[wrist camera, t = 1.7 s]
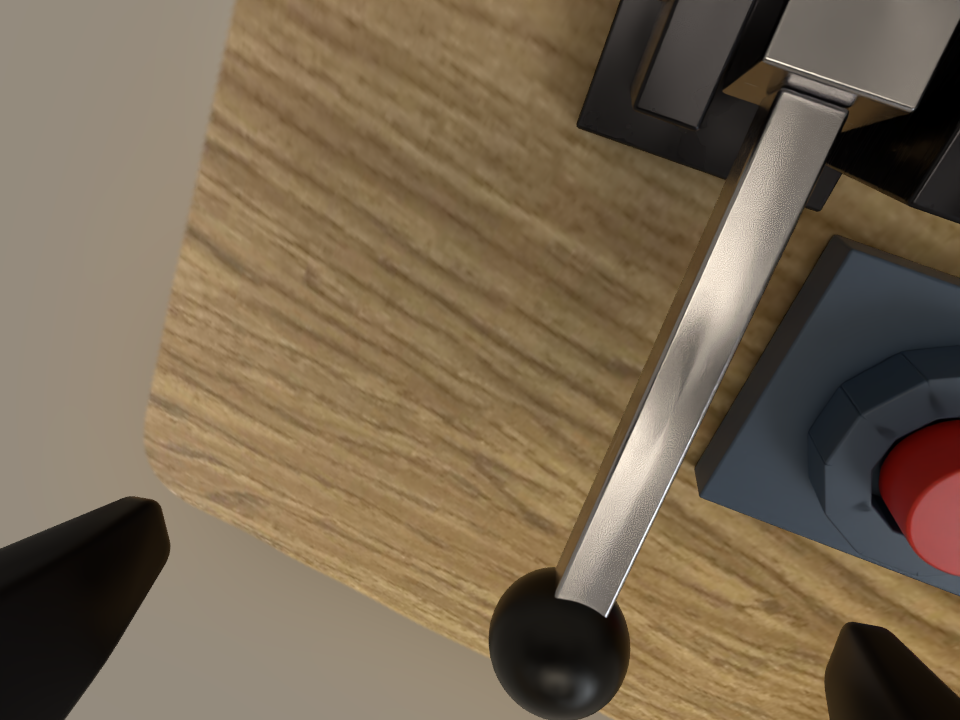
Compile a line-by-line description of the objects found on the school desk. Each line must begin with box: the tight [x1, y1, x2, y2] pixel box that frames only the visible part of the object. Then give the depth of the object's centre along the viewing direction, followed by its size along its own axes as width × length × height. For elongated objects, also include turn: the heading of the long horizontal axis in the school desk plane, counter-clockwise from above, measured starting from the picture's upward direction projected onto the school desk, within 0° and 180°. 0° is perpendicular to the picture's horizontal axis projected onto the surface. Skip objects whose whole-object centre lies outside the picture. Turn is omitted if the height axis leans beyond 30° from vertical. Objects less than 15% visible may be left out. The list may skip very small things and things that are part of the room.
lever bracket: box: [577, 0, 960, 224], centre depth 12 cm, size 7×7×10 cm
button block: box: [695, 235, 960, 596], centre depth 18 cm, size 10×9×4 cm
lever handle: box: [489, 0, 960, 720], centre depth 11 cm, size 15×3×3 cm, turn 163°
